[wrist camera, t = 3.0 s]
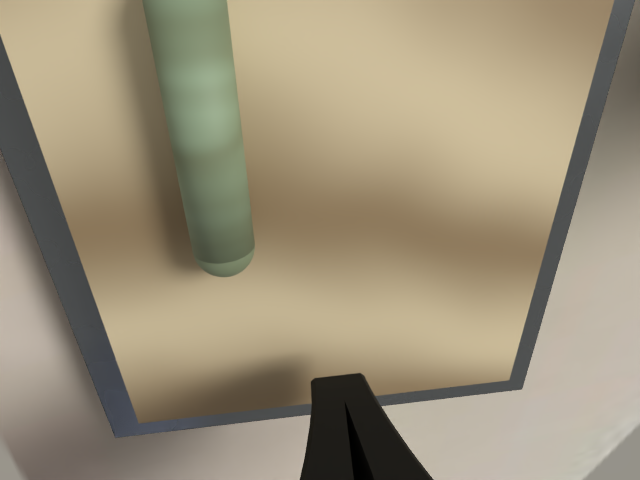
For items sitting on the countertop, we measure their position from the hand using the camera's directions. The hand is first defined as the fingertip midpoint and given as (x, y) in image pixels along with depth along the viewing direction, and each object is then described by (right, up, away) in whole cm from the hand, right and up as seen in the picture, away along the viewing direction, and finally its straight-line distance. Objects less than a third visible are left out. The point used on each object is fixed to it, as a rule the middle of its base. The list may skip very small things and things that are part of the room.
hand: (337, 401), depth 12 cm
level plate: (0, +5, 0) cm, 5 cm away
